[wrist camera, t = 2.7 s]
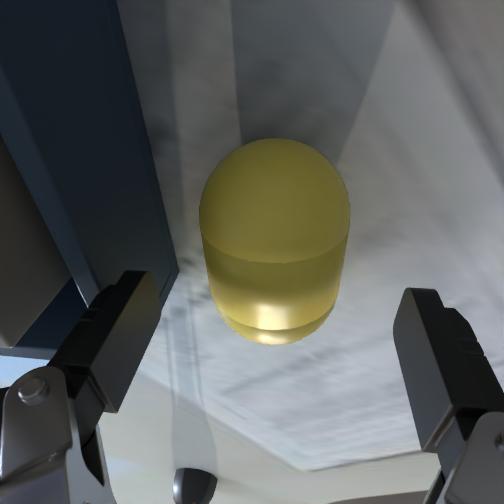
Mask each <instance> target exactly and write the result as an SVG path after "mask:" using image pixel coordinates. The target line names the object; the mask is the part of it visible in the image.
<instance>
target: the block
mask: <svg viewBox="0 0 504 504" xmlns="http://www.w3.org/2000/svg"><path fill="white" fill-rule="evenodd" d="M71 277H72V275H71V273H70V271H69V269H68V267H67V265H66V263H65V261H64V259H63V257H62V255H61V253H60V251H59V249H58V247H57V246H56V244H55V242H54V240H53V238H52V236H51V234H50V232H49V230H48V228H47V226H46V224H45V222H44V220H43V218H42V216H41V214H40V212H39V210H38V208H37V206H36V204H35V202H34V200H33V198H32V196H31V194H30V192H29V190H28V188H27V186H26V184H25V182H24V180H23V178H22V176H21V174H20V172H19V170H18V168H17V166H16V164H15V162H14V160H13V158H12V156H11V154H10V152H9V150H8V148H7V146H6V144H5V142H4V140H3V138H2V136H1V134H0V347H2V348H12V347H14V345H15V344H16V343H17V342H18V341H19V339H20V338H21V337H22V336H23V335H24V333H25V332H26V331H27V330H28V329H29V327H30V326H31V325H32V324H33V323H34V321H35V320H36V319H37V318H38V316H39V315H40V314H41V313H42V312H43V310H44V309H45V308H46V307H47V306H48V304H49V303H50V302H51V301H52V300H53V298H54V297H55V296H56V295H57V294H58V292H59V291H60V290H61V289H62V288H63V286H64V285H65V284H66V283H67V281H68V280H69V279H70V278H71Z"/></svg>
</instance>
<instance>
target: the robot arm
mask: <svg viewBox="0 0 504 504" xmlns="http://www.w3.org/2000/svg"><path fill="white" fill-rule="evenodd" d="M160 317H161V301H160V298H159V295H158V291H157V288H156V285H155V281H154V278H153V275H152V273H151V272H150V271H138V270H126V271H125V272H124V273H123V274H122V276H121V277H120V279H119V280H118V282H117V283H116V285H111V284H110V285H109V286H107V287H106V288H105V289H104V290H102V291H101V292H100V293H99V294H97V295H96V296H95V298H94V299H93V301H92V302H91V303H90V305H89V306H88V308H87V311H85V312H84V313H83V315H82V316H81V318H80V321H79V322H77V323H76V325H75V326H74V327H73V329H72V330H71V332H70V333H69V335H68V336H67V337H66V339H65V340H64V342H63V343H62V344H61V346H60V347H59V349H58V350H57V352H56V353H55V354H54V356H53V357H52V359H51V360H50V361H49V363H48V364H47V365H46V366H43V367H39V368H36V369H33V370H31V371H29V372H27V373H26V374H24V375H23V376H21V377H20V378H19V379H17V380H16V381H15V382H14V383H13V384H12V386H10V387H5V388H0V504H117V503H116V500H115V498H114V496H113V493H112V489H111V485H110V480H109V475H108V470H107V464H106V459H105V454H104V449H103V443H102V438H101V433H100V428H99V425H98V421H99V419H100V417H101V415H102V413H103V412H109V413H118V410H119V408H120V406H121V404H122V402H123V399H124V397H125V395H126V393H127V391H128V389H129V386H130V384H131V382H132V380H133V378H134V375H135V373H136V371H137V369H138V367H139V364H140V362H141V360H142V358H143V356H144V353H145V351H146V349H147V347H148V345H149V343H150V340H151V338H152V336H153V334H154V332H155V329H156V327H157V325H158V323H159V320H160ZM393 337H394V343H395V347H396V351H397V354H398V358H399V362H400V366H401V370H402V374H403V378H404V382H405V386H406V390H407V394H408V398H409V402H410V406H411V410H412V414H413V418H414V422H415V426H416V430H417V434H418V438H419V442H420V446H421V450H422V452H430V453H437V454H438V458H439V461H440V465H441V468H440V469H439V471H438V473H437V475H436V477H435V479H434V481H433V483H432V485H431V487H430V489H429V491H428V493H427V496H426V498H425V500H424V502H423V504H504V392H503V390H502V388H501V386H500V384H499V382H498V380H497V378H496V376H495V374H494V372H493V370H492V368H491V366H490V364H489V362H488V360H487V358H486V356H484V352H483V350H482V348H481V346H480V344H479V342H477V338H476V336H475V334H474V332H473V330H472V328H471V326H470V324H469V322H468V321H467V320H466V319H465V318H464V317H463V316H462V315H461V314H460V313H459V312H458V311H457V310H456V309H455V308H444V306H443V303H442V301H441V299H440V297H439V294H438V292H437V291H436V290H435V289H425V288H406V289H405V291H404V293H403V296H402V299H401V302H400V305H399V308H398V311H397V314H396V317H395V320H394V325H393Z"/></svg>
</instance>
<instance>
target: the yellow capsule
mask: <svg viewBox="0 0 504 504" xmlns="http://www.w3.org/2000/svg"><path fill="white" fill-rule="evenodd" d="M199 216H200V230H201V236H202V242H203V248H204V255H205V261H206V267H207V273H208V279H209V285H210V291H211V295H212V298H213V302H214V304H215V307H216V309H217V311H218V312H219V314H220V315H221V317H222V318H223V320H224V321H225V322H226V324H227V325H228V326H229V327H231V328H232V329H233V330H234V331H235V332H237V333H238V334H240V335H241V336H243V337H245V338H247V339H248V340H251V341H254V342H257V343H261V344H267V345H283V344H289V343H293V342H296V341H298V340H301V339H303V338H305V337H306V336H308V335H310V334H311V333H313V332H314V331H316V330H317V329H318V328H319V327H320V326H321V325H322V324H323V323H324V321H325V320H326V318H327V317H328V316H329V314H330V313H331V311H332V310H333V307H334V304H335V301H336V298H337V295H338V292H339V285H340V279H341V273H342V268H343V262H344V256H345V250H346V244H347V238H348V232H349V227H350V202H349V197H348V192H347V190H346V187H345V185H344V183H343V181H342V178H341V176H340V174H339V172H338V171H337V170H336V169H335V167H334V166H333V165H332V163H331V162H330V161H329V160H328V159H327V158H326V157H324V156H323V155H322V154H321V153H319V152H318V151H317V150H315V149H314V148H312V147H310V146H308V145H305V144H303V143H300V142H298V141H295V140H291V139H284V138H267V139H260V140H256V141H252V142H250V143H248V144H245V145H243V146H241V147H239V148H237V149H235V150H234V151H232V152H231V153H230V154H229V155H227V156H226V157H225V158H224V159H223V160H221V161H220V163H219V164H218V165H217V167H216V168H215V169H214V171H213V172H212V173H211V175H210V176H209V178H208V180H207V182H206V185H205V187H204V189H203V192H202V196H201V201H200V207H199Z"/></svg>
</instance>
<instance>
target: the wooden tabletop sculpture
mask: <svg viewBox="0 0 504 504" xmlns="http://www.w3.org/2000/svg"><path fill="white" fill-rule="evenodd" d="M216 484H217V479H216V478H215V477H214V476H213V475H212V474H210V473H207V472H204V471H201V470H198V469H188V468H184V469H180V470H176V474H175V478H174V485H173V499H174V501H175V504H209V503H210V501H211V499H212V497H213V495H214V492H215V488H216Z"/></svg>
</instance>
